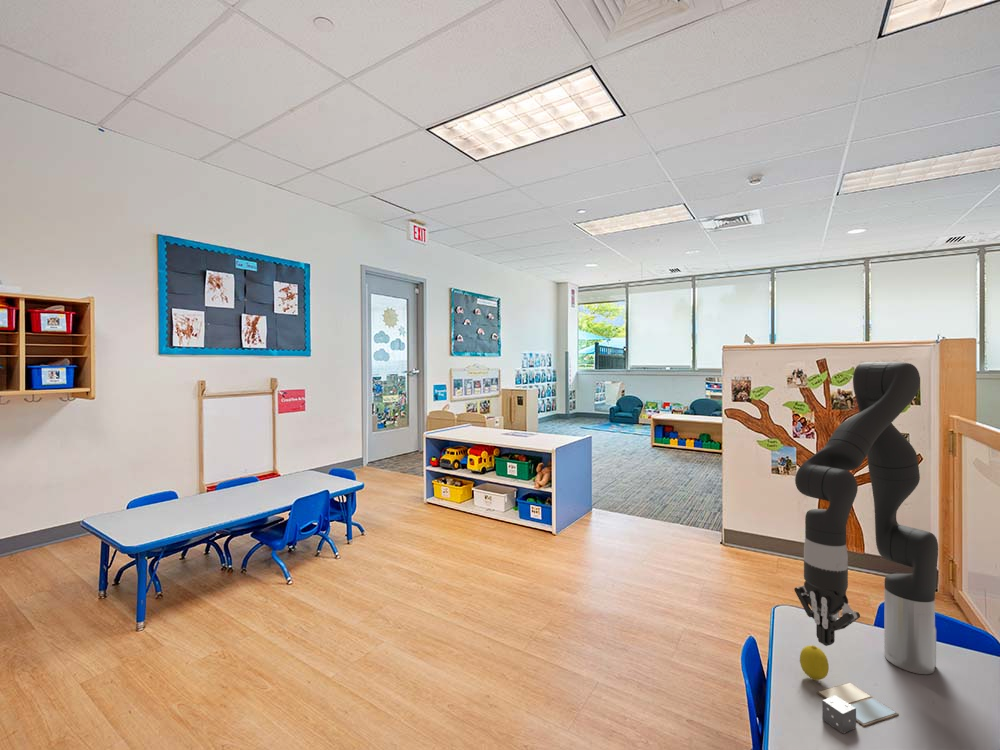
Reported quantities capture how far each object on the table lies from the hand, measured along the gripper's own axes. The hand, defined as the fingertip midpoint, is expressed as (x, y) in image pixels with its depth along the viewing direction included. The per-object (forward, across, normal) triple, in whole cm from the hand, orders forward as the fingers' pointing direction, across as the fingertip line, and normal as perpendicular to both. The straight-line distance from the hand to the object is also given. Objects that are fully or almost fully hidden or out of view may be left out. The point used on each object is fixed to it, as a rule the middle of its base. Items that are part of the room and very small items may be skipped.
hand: (825, 643), depth 96 cm
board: (+15, 0, -9) cm, 17 cm away
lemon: (+15, +8, -8) cm, 19 cm away
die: (+13, -1, 0) cm, 13 cm away
